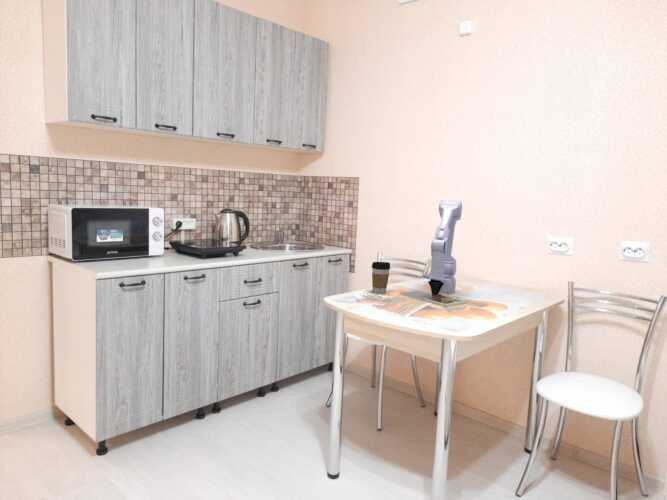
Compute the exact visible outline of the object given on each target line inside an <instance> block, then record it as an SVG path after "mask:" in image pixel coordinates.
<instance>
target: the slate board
mask: <svg viewBox="0 0 667 500" xmlns="http://www.w3.org/2000/svg"><path fill="white" fill-rule="evenodd" d="M397 294H398V295H401V296H405V297H408V298H411V299H415V300H417V301H418V300H419V301H421V302H424V301H423V298H425V299H428V300H432V301H433V297H432V293H429V292H425V291H421V290H414V291H406V292H400V293H397Z"/></svg>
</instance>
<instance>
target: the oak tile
mask: <svg viewBox="0 0 667 500" xmlns="http://www.w3.org/2000/svg"><path fill="white" fill-rule="evenodd" d="M455 302H456V301H455V299H451V298H441V302H440V303H443V304H449V303H455Z"/></svg>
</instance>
